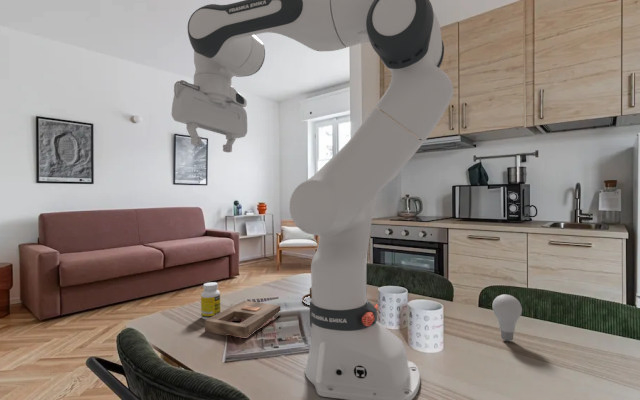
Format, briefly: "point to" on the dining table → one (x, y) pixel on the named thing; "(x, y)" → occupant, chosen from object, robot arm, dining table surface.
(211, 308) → the supplement bottle
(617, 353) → the dining table surface
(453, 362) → the dining table surface
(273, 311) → the block
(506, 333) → the lightbulb
